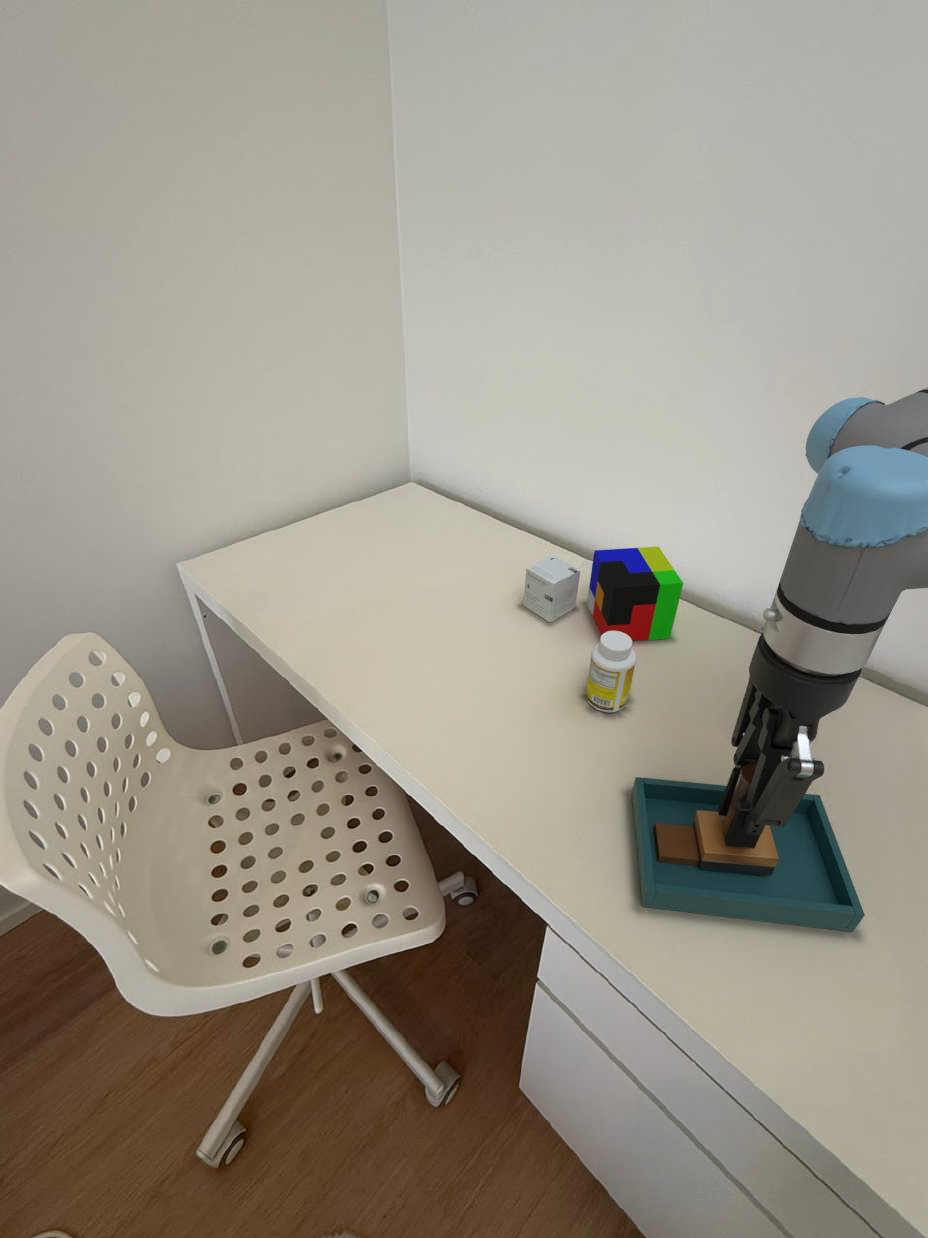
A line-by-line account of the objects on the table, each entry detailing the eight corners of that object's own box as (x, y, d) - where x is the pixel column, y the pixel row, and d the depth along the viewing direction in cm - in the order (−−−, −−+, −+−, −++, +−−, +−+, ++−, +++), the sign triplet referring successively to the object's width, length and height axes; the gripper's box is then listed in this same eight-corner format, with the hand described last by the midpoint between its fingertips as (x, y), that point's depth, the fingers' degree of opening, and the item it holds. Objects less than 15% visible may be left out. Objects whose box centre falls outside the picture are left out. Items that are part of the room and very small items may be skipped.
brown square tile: (691, 833, 69) (693, 826, 68) (697, 866, 66) (699, 860, 65) (653, 829, 70) (655, 822, 69) (657, 862, 66) (659, 855, 66)
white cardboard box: (522, 606, 103) (524, 567, 99) (548, 592, 106) (552, 553, 102) (550, 623, 99) (554, 584, 95) (576, 608, 103) (581, 569, 98)
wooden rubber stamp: (759, 833, 69) (789, 757, 61) (771, 876, 65) (805, 800, 57) (691, 827, 69) (713, 751, 62) (699, 869, 65) (722, 794, 58)
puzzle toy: (586, 604, 104) (594, 550, 98) (647, 599, 104) (658, 546, 98) (604, 643, 96) (613, 587, 90) (669, 638, 96) (683, 582, 90)
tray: (810, 812, 72) (819, 794, 70) (852, 932, 61) (865, 915, 59) (631, 794, 74) (635, 776, 72) (642, 907, 63) (647, 890, 61)
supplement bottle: (618, 683, 89) (629, 624, 83) (633, 711, 84) (646, 651, 78) (579, 687, 88) (587, 628, 82) (592, 717, 84) (602, 657, 77)
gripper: (740, 587, 57) (685, 763, 71) (788, 716, 45) (710, 898, 59) (829, 593, 56) (756, 769, 71) (903, 726, 44) (796, 908, 58)
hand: (735, 828), depth 65 cm, fingers closed on wooden rubber stamp, 3 cm apart
